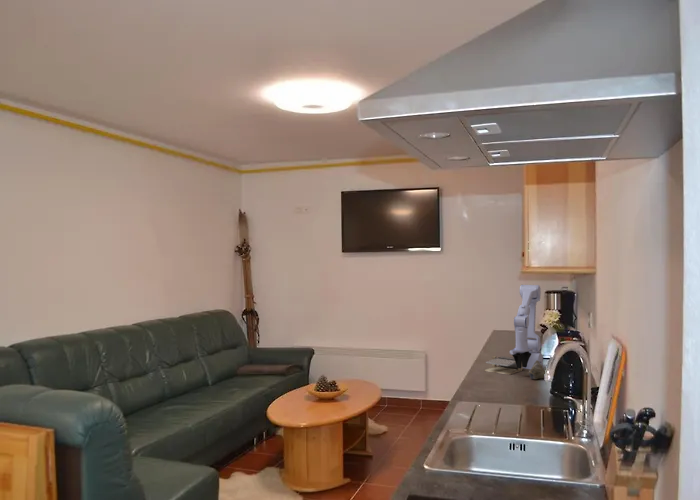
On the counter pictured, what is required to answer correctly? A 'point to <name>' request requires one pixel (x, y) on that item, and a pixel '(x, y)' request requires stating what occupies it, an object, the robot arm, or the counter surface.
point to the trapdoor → (504, 361)
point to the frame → (503, 369)
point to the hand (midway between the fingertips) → (521, 367)
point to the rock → (537, 371)
